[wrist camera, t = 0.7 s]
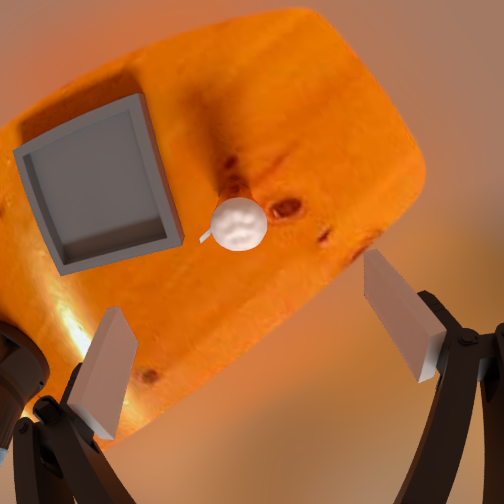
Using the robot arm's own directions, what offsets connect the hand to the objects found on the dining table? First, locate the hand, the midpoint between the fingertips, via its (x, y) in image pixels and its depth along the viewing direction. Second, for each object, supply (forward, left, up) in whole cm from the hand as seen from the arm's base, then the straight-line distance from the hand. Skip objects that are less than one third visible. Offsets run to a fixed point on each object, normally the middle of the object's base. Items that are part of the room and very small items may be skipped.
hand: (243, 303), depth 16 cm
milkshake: (0, 0, -19) cm, 19 cm away
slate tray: (-14, +5, -18) cm, 24 cm away
